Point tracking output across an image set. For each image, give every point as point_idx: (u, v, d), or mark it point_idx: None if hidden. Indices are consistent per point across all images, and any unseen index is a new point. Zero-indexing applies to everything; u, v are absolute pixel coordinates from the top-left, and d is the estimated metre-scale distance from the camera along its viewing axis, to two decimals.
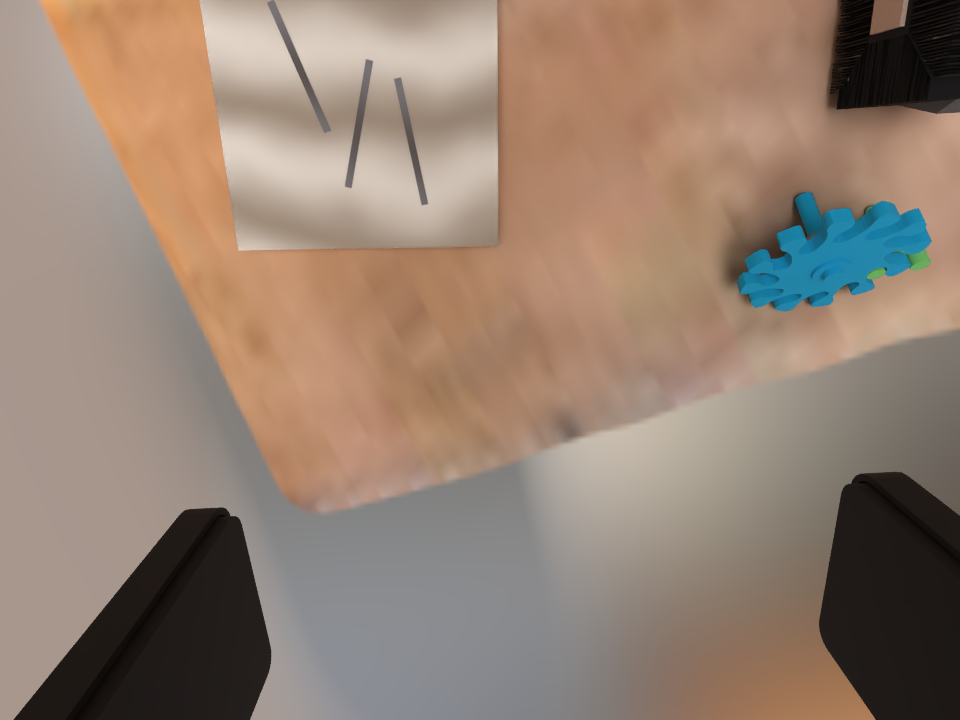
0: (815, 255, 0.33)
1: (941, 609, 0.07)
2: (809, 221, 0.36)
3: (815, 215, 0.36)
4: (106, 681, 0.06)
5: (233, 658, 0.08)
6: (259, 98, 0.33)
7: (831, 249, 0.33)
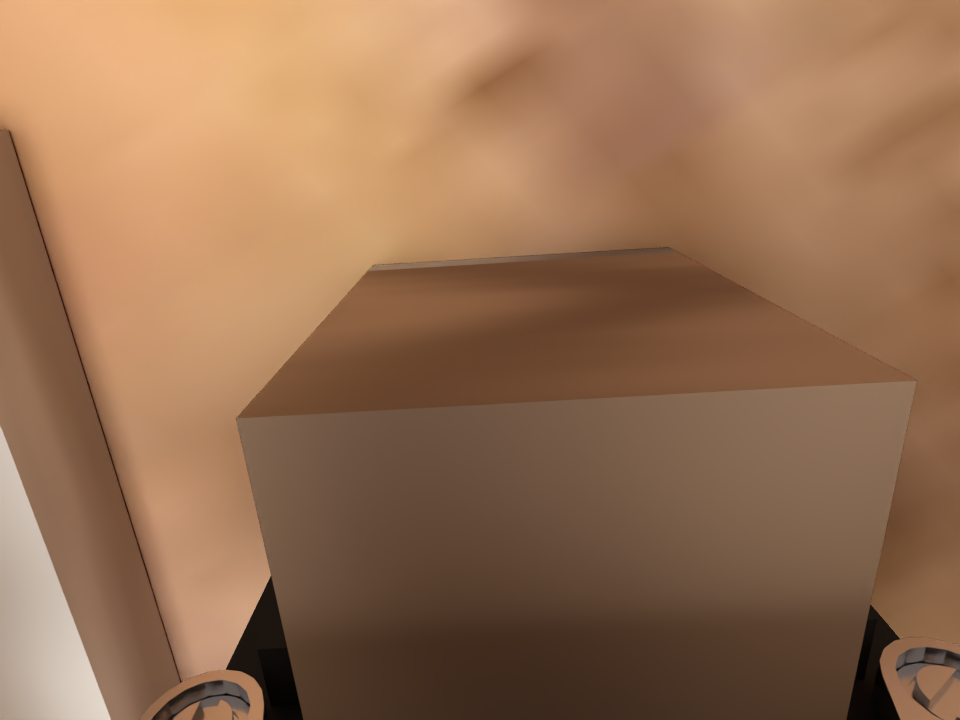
0: None
1: None
2: None
3: None
4: None
5: None
6: None
7: None
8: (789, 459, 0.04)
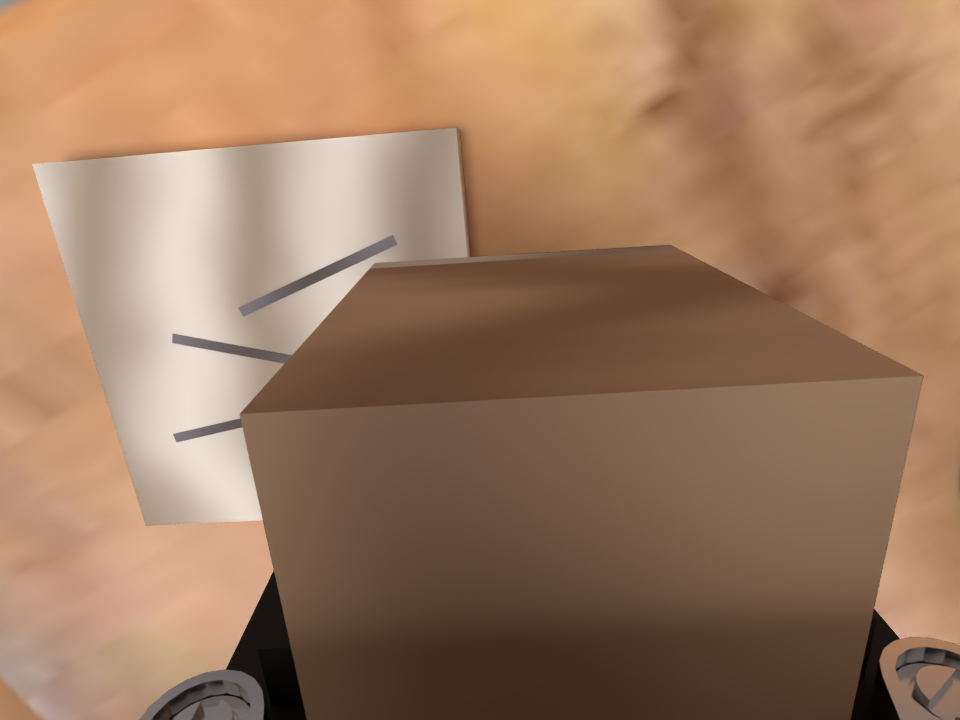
0: None
1: None
2: None
3: None
4: None
5: None
6: (267, 215, 0.22)
7: None
8: (796, 455, 0.04)
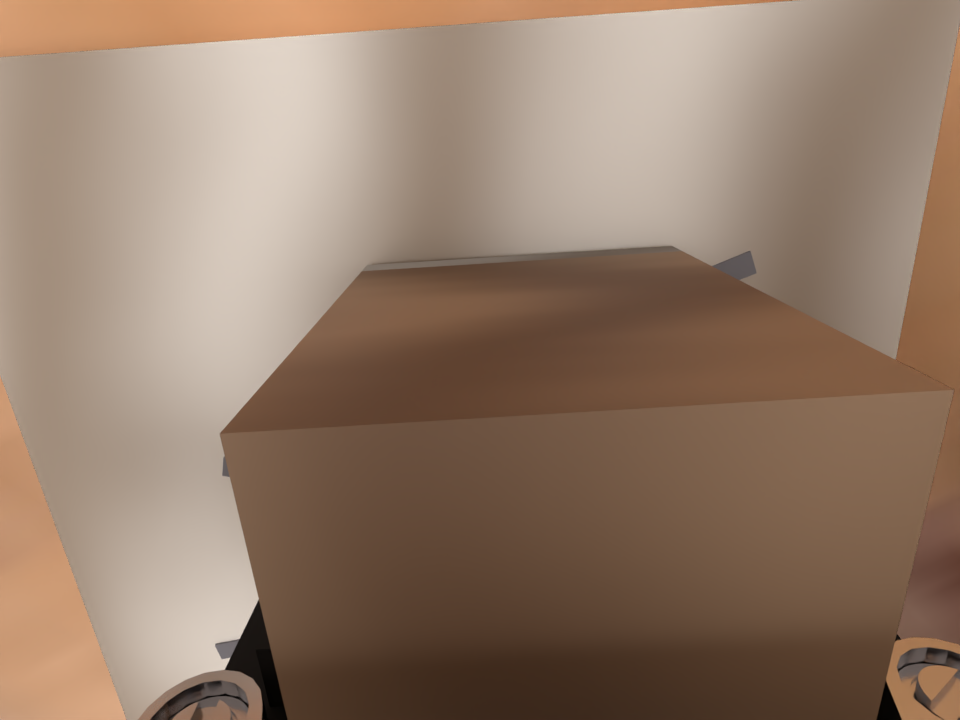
0: None
1: None
2: None
3: None
4: None
5: None
6: (463, 201, 0.10)
7: None
8: (818, 475, 0.04)
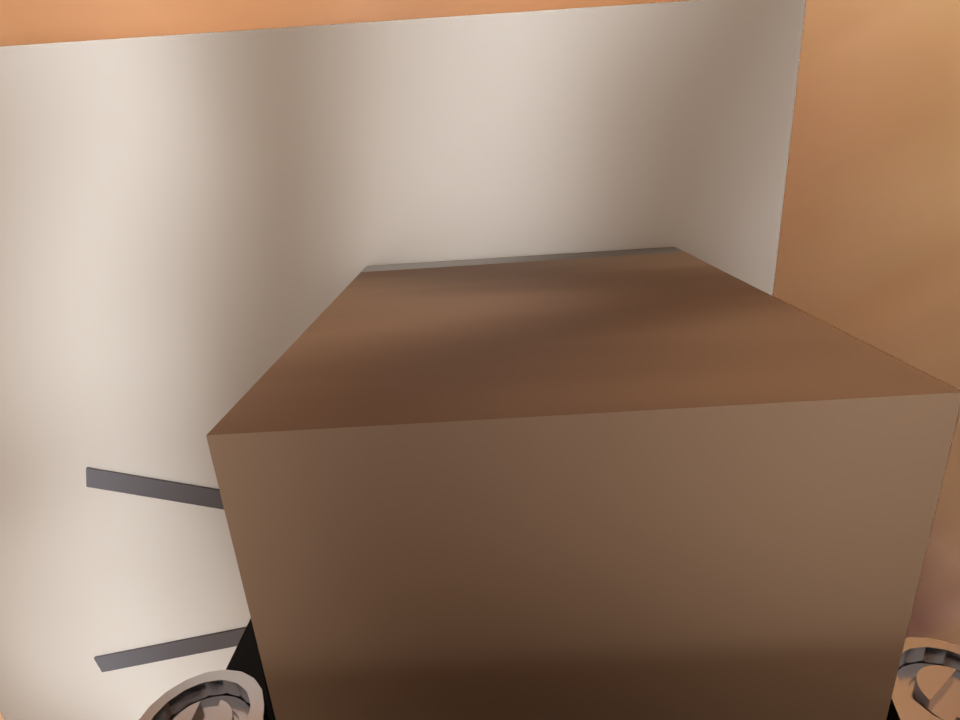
0: None
1: None
2: None
3: None
4: None
5: None
6: (310, 207, 0.09)
7: None
8: (821, 480, 0.04)
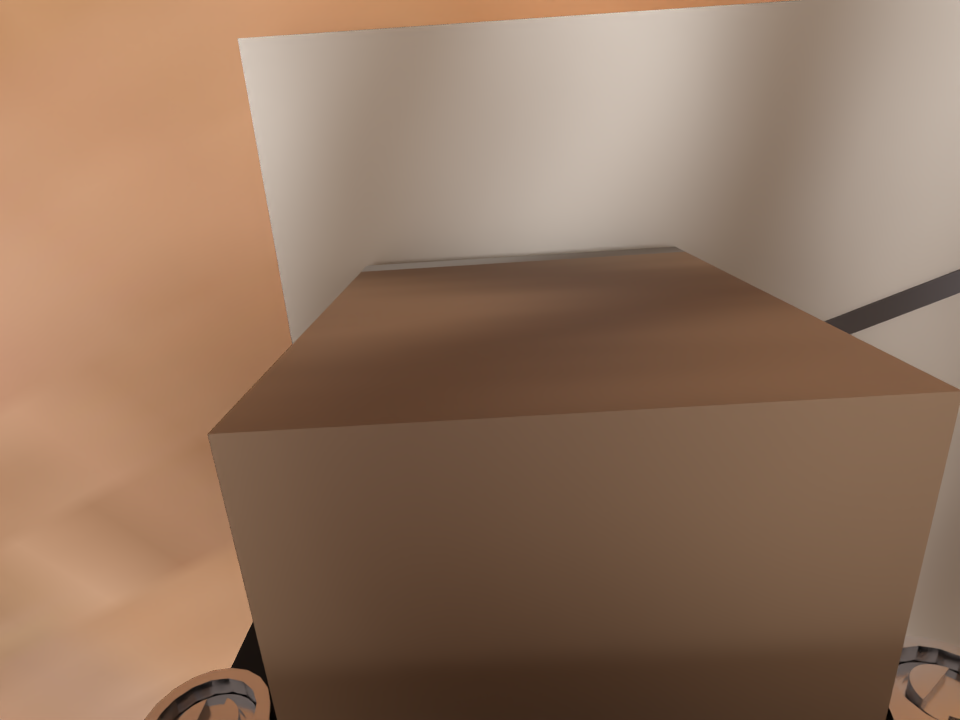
0: None
1: None
2: None
3: None
4: None
5: None
6: (789, 177, 0.10)
7: None
8: (820, 478, 0.04)
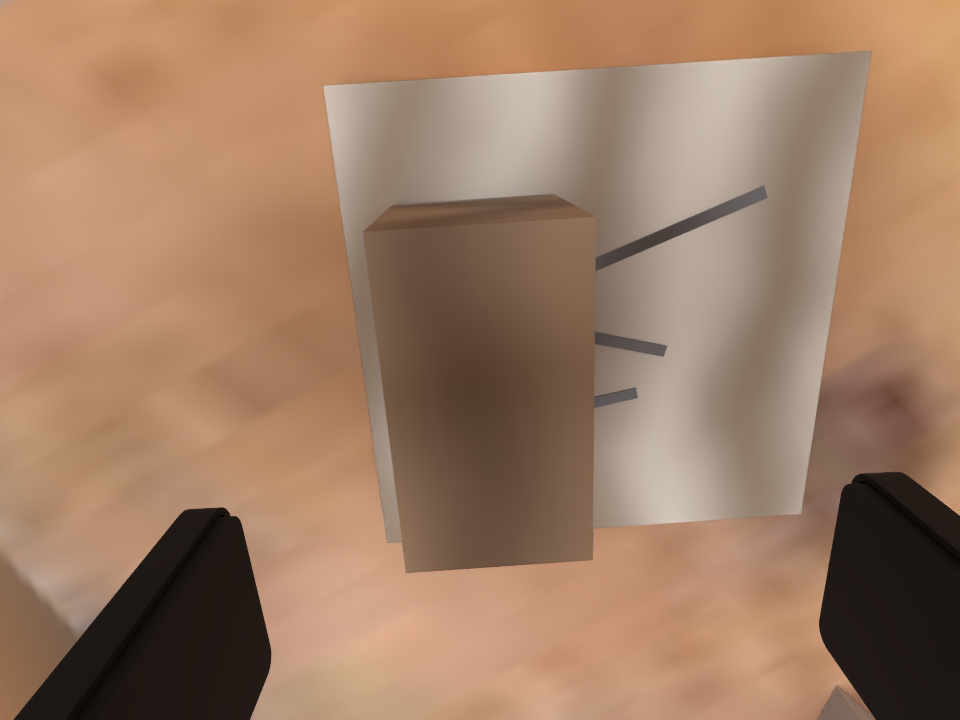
0: None
1: (941, 609, 0.07)
2: None
3: None
4: (106, 681, 0.06)
5: (233, 658, 0.08)
6: (614, 158, 0.18)
7: None
8: (557, 247, 0.13)
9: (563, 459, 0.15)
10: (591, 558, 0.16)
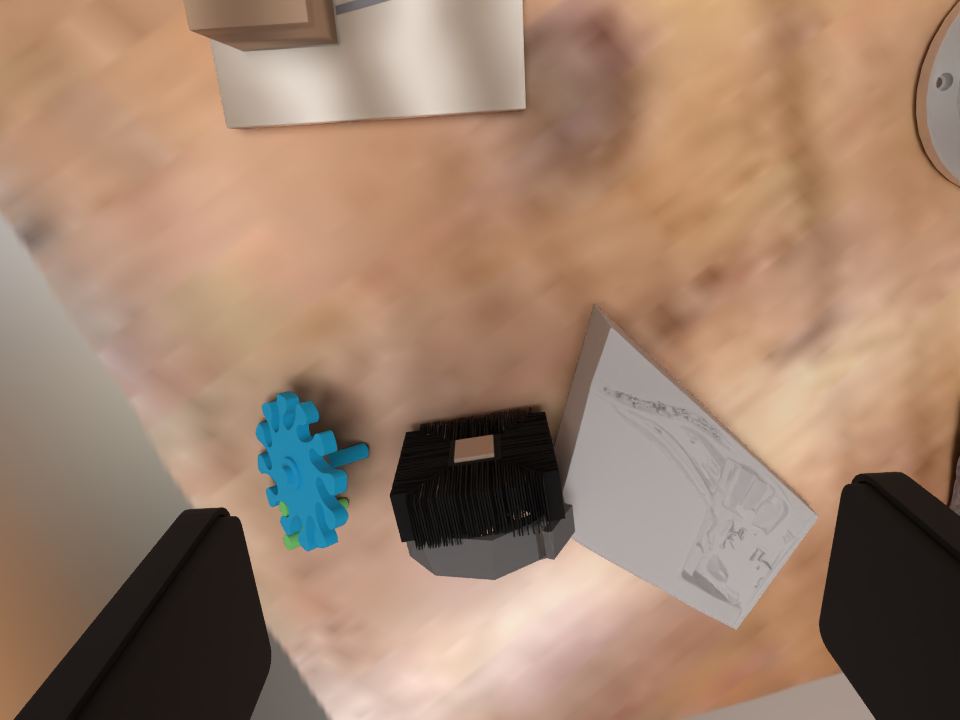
0: (306, 462, 0.35)
1: (941, 609, 0.07)
2: (341, 455, 0.38)
3: (346, 460, 0.39)
4: (106, 681, 0.06)
5: (233, 658, 0.08)
6: None
7: (310, 475, 0.35)
8: None
9: None
10: (306, 20, 0.24)
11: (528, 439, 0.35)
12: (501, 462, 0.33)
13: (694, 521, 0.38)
